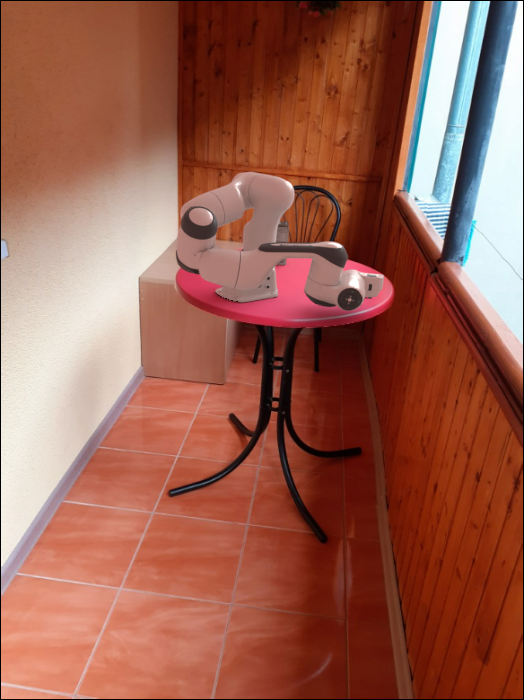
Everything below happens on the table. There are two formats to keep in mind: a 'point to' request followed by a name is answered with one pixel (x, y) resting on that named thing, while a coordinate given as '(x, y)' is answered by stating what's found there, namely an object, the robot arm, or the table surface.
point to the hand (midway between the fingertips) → (352, 272)
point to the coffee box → (282, 236)
